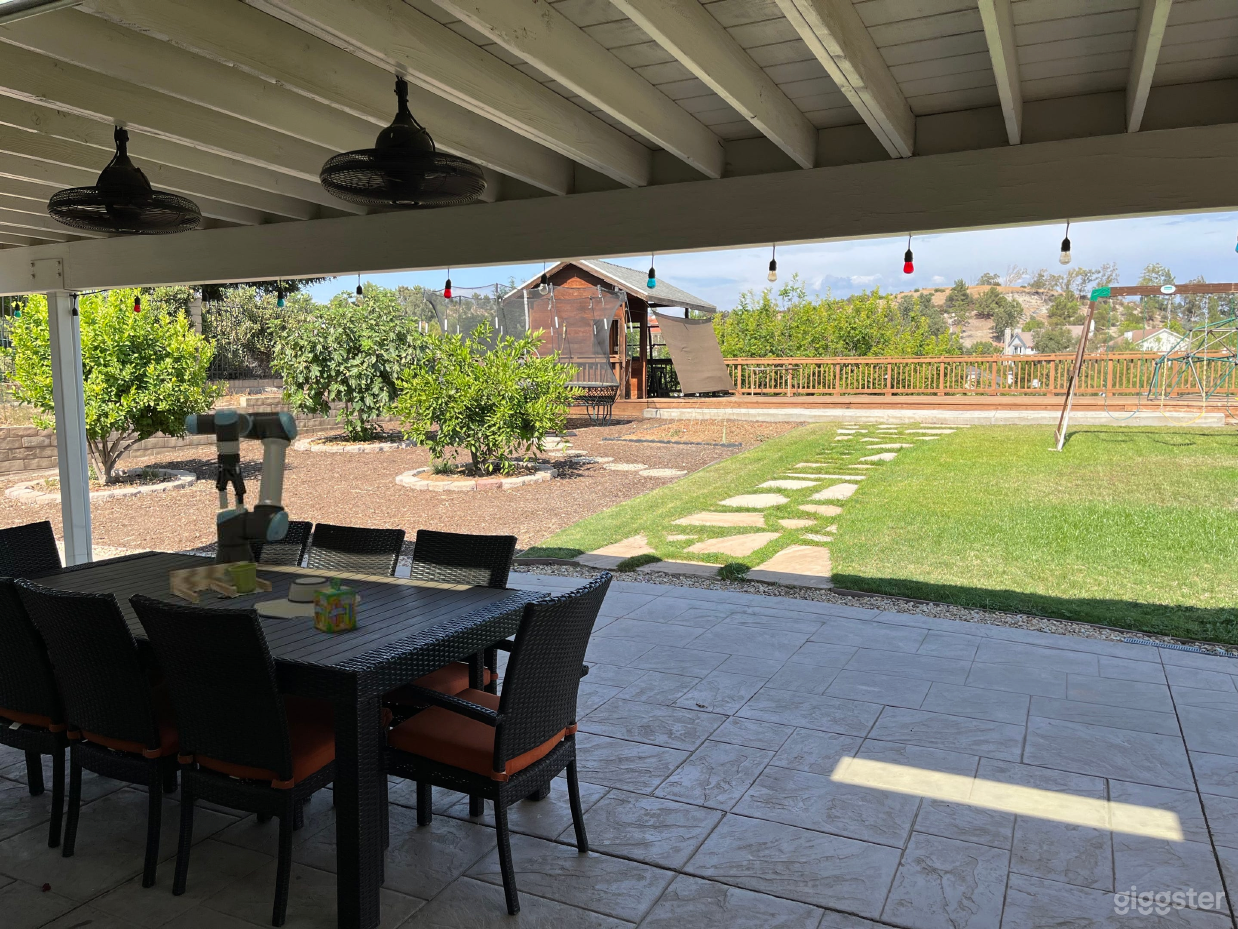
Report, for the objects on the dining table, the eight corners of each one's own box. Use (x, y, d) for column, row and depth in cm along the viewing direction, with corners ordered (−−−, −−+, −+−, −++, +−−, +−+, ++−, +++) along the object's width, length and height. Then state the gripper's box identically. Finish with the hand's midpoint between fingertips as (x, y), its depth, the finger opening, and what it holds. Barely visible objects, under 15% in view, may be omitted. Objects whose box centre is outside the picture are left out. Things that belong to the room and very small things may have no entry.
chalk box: (313, 628, 255) (312, 578, 254) (342, 622, 261) (341, 573, 260) (328, 634, 248) (326, 583, 247) (357, 627, 255) (356, 578, 254)
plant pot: (230, 595, 296) (226, 571, 295) (234, 589, 305) (230, 565, 304) (259, 591, 299) (255, 566, 298) (262, 585, 308) (258, 561, 307)
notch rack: (248, 582, 318) (247, 560, 317) (273, 591, 303) (272, 568, 303) (170, 594, 299) (169, 572, 298) (193, 604, 284) (192, 580, 283)
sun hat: (255, 627, 259) (254, 597, 258) (247, 602, 291) (246, 575, 290) (378, 612, 275) (377, 584, 274) (357, 590, 307) (356, 564, 306)
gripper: (203, 451, 317) (207, 508, 319) (233, 456, 300) (236, 516, 302) (224, 449, 322) (227, 505, 325) (254, 454, 305) (257, 513, 308)
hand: (232, 511), depth 314 cm, fingers open, 13 cm apart
